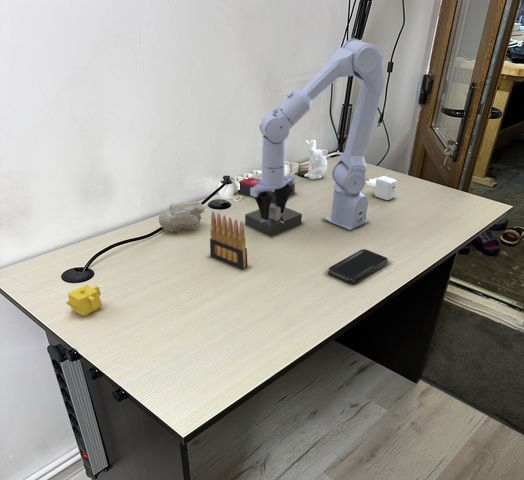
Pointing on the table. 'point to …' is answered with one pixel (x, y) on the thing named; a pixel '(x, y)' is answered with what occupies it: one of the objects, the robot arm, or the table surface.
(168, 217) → the fossil replica
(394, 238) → the table surface
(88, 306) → the yellow knobbed block
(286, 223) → the panel
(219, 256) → the ammunition clip
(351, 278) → the phone
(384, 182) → the power adapter
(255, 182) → the red and grey box
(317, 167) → the white animal figurine
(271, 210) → the knob
